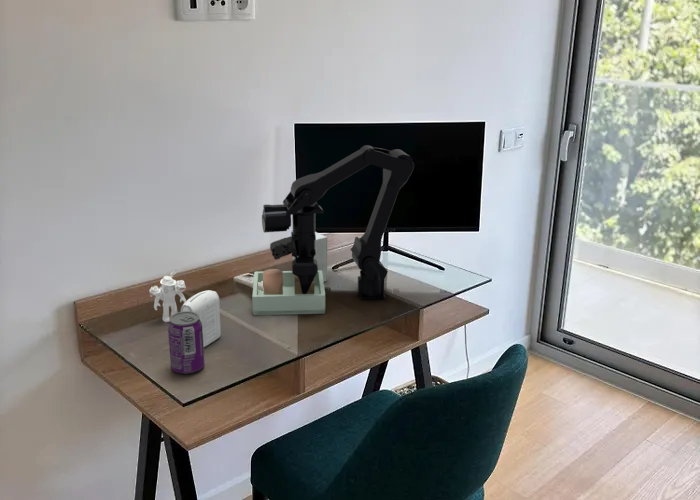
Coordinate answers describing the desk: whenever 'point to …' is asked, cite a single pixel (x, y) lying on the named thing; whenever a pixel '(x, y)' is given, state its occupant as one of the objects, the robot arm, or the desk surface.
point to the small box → (321, 254)
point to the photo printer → (206, 314)
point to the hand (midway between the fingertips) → (304, 286)
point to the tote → (289, 297)
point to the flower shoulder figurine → (168, 295)
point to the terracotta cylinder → (273, 282)
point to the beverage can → (186, 342)
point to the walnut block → (298, 287)
